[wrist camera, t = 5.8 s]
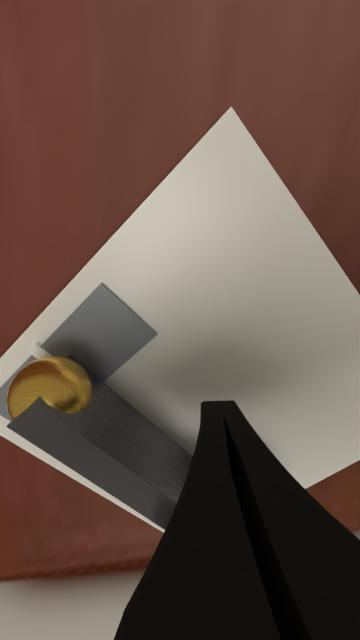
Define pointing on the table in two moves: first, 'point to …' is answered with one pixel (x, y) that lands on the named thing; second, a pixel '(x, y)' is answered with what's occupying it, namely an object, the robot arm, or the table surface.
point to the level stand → (215, 314)
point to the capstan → (98, 435)
